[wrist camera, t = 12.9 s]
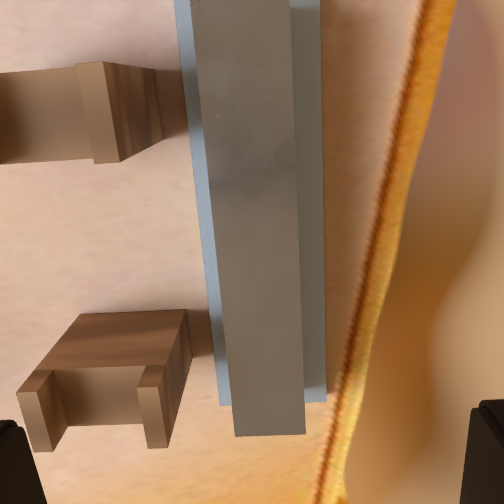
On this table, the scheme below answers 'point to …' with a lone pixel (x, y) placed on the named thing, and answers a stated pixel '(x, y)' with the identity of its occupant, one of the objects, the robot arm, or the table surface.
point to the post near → (78, 113)
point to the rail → (254, 205)
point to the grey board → (308, 191)
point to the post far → (110, 377)
